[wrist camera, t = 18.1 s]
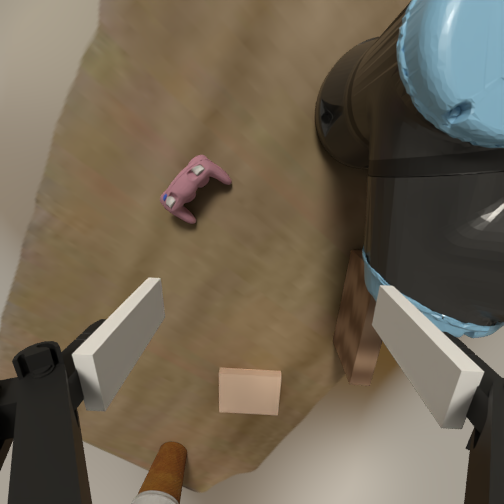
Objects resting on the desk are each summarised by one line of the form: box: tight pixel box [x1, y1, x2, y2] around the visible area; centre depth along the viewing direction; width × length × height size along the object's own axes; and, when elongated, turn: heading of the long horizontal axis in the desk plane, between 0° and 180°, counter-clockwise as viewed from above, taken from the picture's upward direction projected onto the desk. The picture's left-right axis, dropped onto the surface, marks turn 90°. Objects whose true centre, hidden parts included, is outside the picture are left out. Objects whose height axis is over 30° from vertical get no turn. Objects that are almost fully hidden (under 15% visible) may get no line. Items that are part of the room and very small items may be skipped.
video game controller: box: [160, 155, 232, 224], centre depth 37 cm, size 10×5×7 cm, turn 136°
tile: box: [219, 368, 281, 415], centre depth 52 cm, size 2×12×10 cm
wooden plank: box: [333, 250, 382, 386], centre depth 40 cm, size 18×3×10 cm, turn 176°
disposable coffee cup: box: [131, 442, 187, 504], centre depth 54 cm, size 10×10×12 cm
